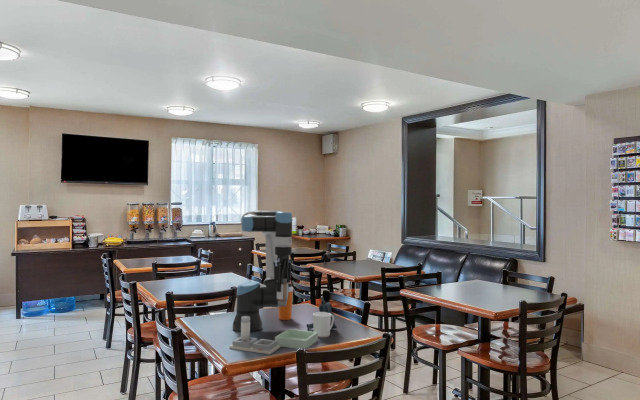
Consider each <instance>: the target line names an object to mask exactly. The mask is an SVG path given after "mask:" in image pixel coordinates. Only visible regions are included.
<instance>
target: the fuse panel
mask: <svg viewBox="0 0 640 400" xmlns="http://www.w3.org/2000/svg"><path fill="white" fill-rule="evenodd" d="M228 346H229V349H231V350H238V351H246V352H251V353H259V354H266V355H271V354H273V353H274V352H276V351H278V349H280V348H281V346H280V345H277V341H275V339H274V340H273V339H272V340H271V339H266V338H260V339H258V337H251V336H250V341H249V342H243V341H241V336H240V337H238V338H236V339H234V340H232V344H230V345H228Z"/></svg>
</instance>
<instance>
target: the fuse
mask: <svg viewBox="0 0 640 400" xmlns="http://www.w3.org/2000/svg"><path fill="white" fill-rule="evenodd" d="M240 337H241V341H243V342H249V341H250V337H251V332H250V316H242V317H241V332H240Z"/></svg>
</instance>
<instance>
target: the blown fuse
mask: <svg viewBox="0 0 640 400" xmlns="http://www.w3.org/2000/svg"><path fill="white" fill-rule="evenodd" d="M282 284H283V299H278V306H286V301H287V278H283V280H282Z"/></svg>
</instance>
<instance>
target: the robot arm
mask: <svg viewBox="0 0 640 400" xmlns="http://www.w3.org/2000/svg"><path fill="white" fill-rule="evenodd" d="M240 224H241V231H242V232H247V233H255V232H257V233H258V232H261V233H262V235H263V236H264V237H265V240H264V241H265V269H266V270H265V276H266V277H265V279H264V281H263V282H262V283H263V284H261V283H260V281H247V282H243V283H240V284H239V285H237V288H236V313H235V317H234V319H233V323H232V330H234V331H235V332H239V333H241V317H242V316H250V333H253V332H258V331H261V330H262V329H263V321H262V317H261V315H260V308H278V307H283V306H278V299H283V284H282V280H283V278H287V299H288V292H289V285H288V283H291V278H292V263H293V259H292V258H290V256H291V255H292V251H293V250H292V244H293V243H292V241H293V234H292V233H293V214H292V212H289V211H287V212H285V211H281V210H276V209H274V210H251V211H248V212H246V213H244V214H242V216H241V219H240ZM286 303H287V301H286Z"/></svg>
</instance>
